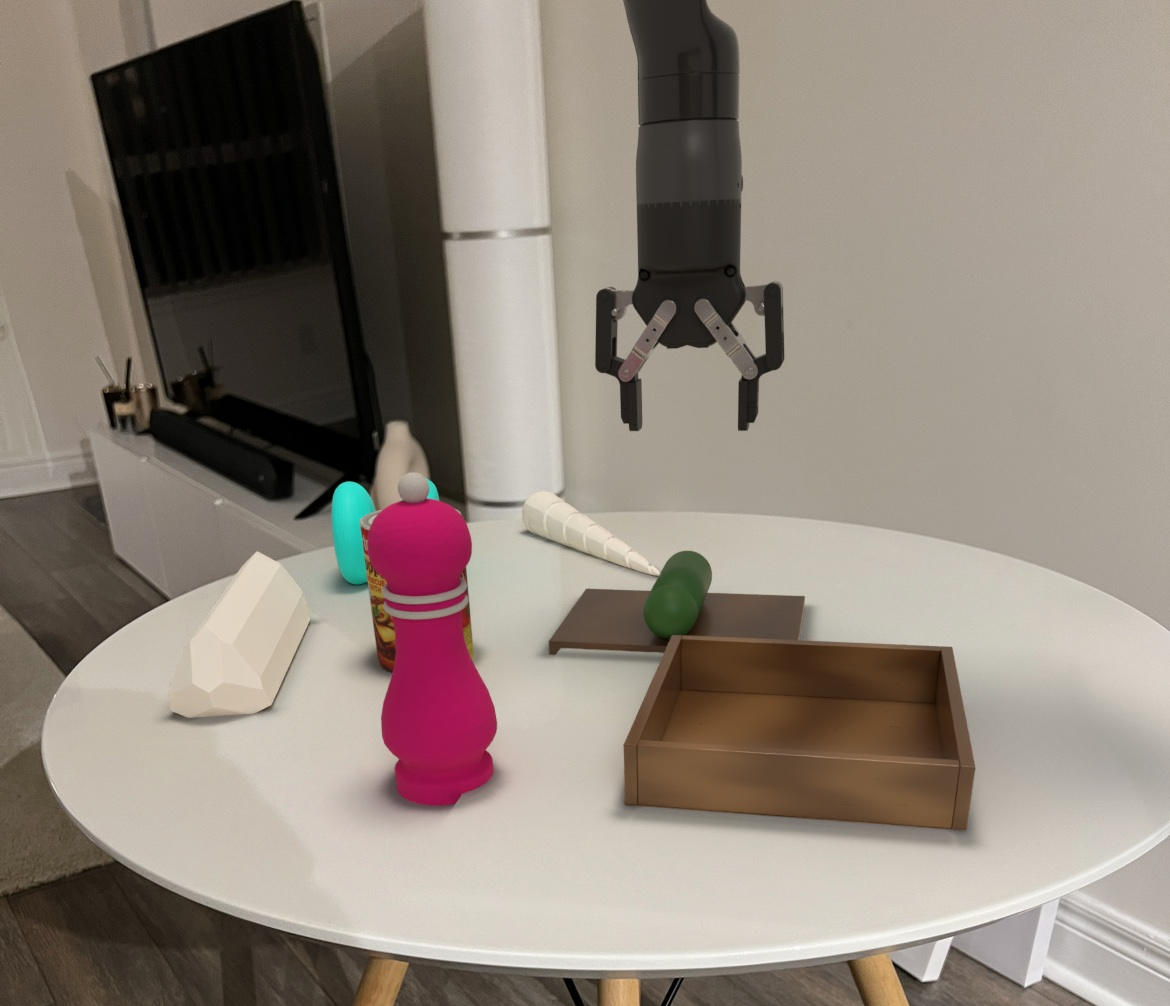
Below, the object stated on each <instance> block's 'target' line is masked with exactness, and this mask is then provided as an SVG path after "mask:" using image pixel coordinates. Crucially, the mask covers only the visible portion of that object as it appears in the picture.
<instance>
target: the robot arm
mask: <svg viewBox="0 0 1170 1006" xmlns="http://www.w3.org/2000/svg"><path fill="white" fill-rule="evenodd" d="M622 1H623V6H624V10H625V15H626V20H627V24H628V28H629V32H630V35H631V39H632V42H633V46H634V50H635V54H636V60H637V109H638V110H637V113H638V115H637V116H638V122H637V123H638V129H637V130H638V133H637V134H638V136H637V146H636V155H635V156H636V157H635V158H636V159H635V187H636V188H635V191H636V193H635V194H636V234H637V235H636V239H637V281H636V285H635V287H634V289H616V288H615V287H613V286H607V287H605V288H602V289H600V290H598V291H597V293H596V297H595V346H594V347H595V349H594V350H595V352H594V353H595V354H594V357H595V358H594V366H595V370H596V371H597V372H598V373H600V374H607V375H609V376H611V377H614V378H615V379H617V380H618V383H619V397H620V398H619V399H620V400H619V401H620V419H621V421H622V423H623V424H625V425H626V424H628V430H629V432H640V430H641V429H642V428H643V386H642V385H643V383H642V378H639V374H640V371H641V370H642V369H643V367H644V366H645V364H646V362H647V361H648V359H649V358H650V357H651V355H652V354H653V353H654V352H655V350H656V349H657V348H658V345H659V344H660V345H661V346H662V347H665V348H666V350H671V349H676V350H677V349H680V348H683V347H686V346H689V347H692V348H695V349H708V348H709V347H711V346H713V345H715V344H716V343H718V345H719V346H720V348H721V349H722V351H723V352H724V354H725V355H726V357H728V358H729V359H730V360H731V362H732V363H733V364H734V366H735V367H736V368H737V370H738V371H739V373H740V374H741V377H740V379H738V388H737V389H738V390H737V391H738V393H737V394H738V395H737V396H738V397H737V431H738V432H748V431H749V428H750V424H754V423H755V421H756V420H757V417H758V415H759V398H760V397H759V396H760V395H759V394H760V379H761V377H762V376H763V375H764V374H767V373H770V372H773V371H777V370H779V369H780V368H781V367H782V365H783V363H784V361H785V323H784V322H785V321H784V320H785V319H784V287H783V284H782V283H781V282H780V281H777V280H774V281H770V282H769V283H765V284H755V285H745V283H744V281H743V278H742V275H741V242H742V241H741V240H742V239H741V238H742V237H741V236H742V192H743V190H744V178H743V177H744V176H743V173H742V171H743V170H742V169H743V167H742V166H743V163H742V161H743V157H742V146H741V137H740V122H739V119H740V80H741V79H740V77H741V76H740V73H741V71H740V70H741V69H740V45H739V40H738V35H737V33H736V31H735V29H734V28H733V27H732V26H731V25H730V24H729V23H727V22H726V21H724V20H723V19H721V18H720V17H718V16H717V15H715V14H714V13H713V11H712V10H711V8H710V6H709V5H708V1H707V0H622ZM746 301H747V302H750V303H751V304H752V307H753V309H754V313H755V314H756V315H758V316H759V317H760V316H761V317H763V316H764V342H765V353H764V354H761V355H759V356H756V355H755V354H754V352H753V350H752V349H751V348H750V347H749V345H748V344H747V341H746V340H745V339H744V336H743V335H742V334H741V333H740V331H739V330H738V328H737V327H736V325H735V324H734V323H733V321H734V319H735V318H736V317H737V315H738V314H739V312H740V311H741V309H742V308H743V306H744V305H745V303H746ZM630 305H632V306H633V308H634V310H635V311H636V313H637V314H638V316H639V317H640V319H641V320H642V321H643V323H644V324H645V326H646V327H645V328H644V330H643V331H642V333H641V335H640V336H639V338H638V339H637V341H636V342H635V344H634V345H633V347H632V349H631V351H630V352H629V353H628V355H627V357H626V358H625V359H624V358H622V357H620V356H618V326H619V325H618V321H619V320H622V319H623V318H624V317H625V316H626V314H627V310H628V308H629V306H630Z"/></svg>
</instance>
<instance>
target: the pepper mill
mask: <svg viewBox="0 0 1170 1006" xmlns="http://www.w3.org/2000/svg"><path fill="white" fill-rule="evenodd" d="M426 479H427V478H426V477H425V476H424V475H423V474H421V473H420V472H415V471H410V472H407V473H405V474H403V475H402V476H401V477H400V478H399V481H398V483H397V492H398V495H399V497H400V499H403V500H402V501H401V500H399V501H396V502H394V503H391V504H389V505H387V506H386V507H385V508H383V510H382V509H381V510H382V511H381V512H380V513H379V514H378V515H377V516H376V517H375V518H374V520H373V522H372V524H371V526H370V529H369V533H368V540H367V548H368V556H369V560H370V563H371V565H372V566H373V568H374V569H375V570H376V572H377V573H378V574H379V575H380V576H381V577H382V578H383V579H384V580H385V581H386V582H387V583H386V584H385V585H384V586H383V588H382V595H383V596H384V597H385V599H384V600H385V602H384V610H385V611H386V612H387V613H388V614H390V615H392V619H393V624H394V629H395V641H396V655H395V664H394V669H393V672H392V673H391V676H390V680H389V684H388V686H387V689H386V692H385V696H384V699H383V702H382V710H381V714H380V727H381V728H380V729H381V738H382V740H383V743H384V746H385V747H386V748H387V750H388V751H389V752H390V753H391V754H392V756H395V757H396V758H397V759H398V760H397V761H396V763H395V765H394V776H395V783H396V790H397V793H398V795H400V797H402V798H403V799H405V800H407V801H409V802H411V803H415V804H418V805H422V806H423V805H424V806H432V807H433V806H436V807H437V806H439V807H441V806H450V805H451V806H452V805H456V804H457V803H458V801H459V800H460V798H461V797H462V796H463V794H465V793H468V792H471V791H474V790H476V789H479V788H480V787H482V786H484V785H485V784H487V783H488V782H489V781H490V779H491V778H492V777H493V774H494V761H493V756H492V755H491V753H490V752H489V751H488V748H489V746H490V745H491V744H492V742H493V741H494V739H495V737H496V734H497V731H498V719H497V713H496V708H495V705H494V701H493V698H492V696H491V694H490V691H489V689H488V686H487V685H486V683H485V682H484V680H483V678H482V676H481V674H480V673H479V671H478V669H477V667H476V665H475V663H474V661H473V659H471V657H470V654H469V652H468V649H467V646H466V643H465V638H464V632H463V626H462V609H464V608H465V606H466V605H467V604H468V597H467V595H466V591H465V590H466V588H467V583H466V581H465V580H464V579H463V578H461V577H460V576H461V573H462V572H463V570H464V569H465V567H466V568H467V566H468V564H469V563H470V561H471V557H472V555H473V553H472V552H473V542H472V536H471V533H470V529H469V527H468V523H467V522H466V520H465V518H464V517H463V516H461V515H462V513H461V512H460V513H461V514H460V513H459V512H457V511H456V510H457V509H456V508H454V506H452V505H450V504H449V503H446V502H443V501H441V500H439V501H438V500H434V499H428V498H427V496H428V494H429V484H428V481H427V480H426ZM455 509H456V510H455Z"/></svg>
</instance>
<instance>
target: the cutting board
mask: <svg viewBox="0 0 1170 1006" xmlns="http://www.w3.org/2000/svg"><path fill="white" fill-rule="evenodd" d="M650 591H651V590H639V589H613V588H611V589H609V588H585V589H584V591H583V592H582V594H581V595H580V597H579V598H578V599H577V600H576V602H575V603H574V605H573V606H572V608H571V610H570V611H568V613H567V614H566V616H565V617H564V619H563V621H562V622H561V623H560V625H559V626H558V627H557V629H556V630H555V632H554V633H553V635H552V636H551V637H550V639H549V640H548V652H549V653H548V654H549V655H551V656H556V655H558V653H559V651H560V650H561V649H575V650H576V649H577V650H596V651H619V652H641V653H663V654H664V652H665V650H666V647H667V645H668V643H669V641H670V639H666V638H662V637H660V636H657V635H656V634H654V633H653V632H652V631H651V630H650V629H649V627H648V626H647V624H646V622H645V619H644V615H643V609H644V604H645V601H646V599H647V597H648V595H649V593H650ZM805 602H806V596H805V595H788V594H787V595H786V594H758V593H757V594H756V593H755V594H754V593H731V592H729V593H728V592H727V593H726V592H707V595H706V597H705V600H704V602H703V605H702V607H701V610H700V612H699V615H698V617H697V620H696V622H695V624H694V626H693V627H692V629H691V630H690V631H689V632H688V633H687V634H685V635H687V636H710V637H734V638H757V639H781V640H801V635H802V628H803V620H804V614H805V606H806V605H805V604H806V603H805Z"/></svg>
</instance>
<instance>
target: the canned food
mask: <svg viewBox="0 0 1170 1006" xmlns="http://www.w3.org/2000/svg"><path fill="white" fill-rule="evenodd" d="M383 509H384V508H383ZM383 509H379V510H375V512H372V513H369V514H367V515H365V516H363V517H362V518H361V520H360V527H361V535H362V543H363V550H364V558H365V565H366V573H367V580H368V582H367V586H368V594H369V596H368V597H369V602H370V603H369V604H370V610H371V617H372V625H373V634H374V641H375V648H376V655H377V663H378V666H379V667H380V668H381V669H382V670H383V671H385V672H388V673H390V674H392V672H393V669H394V664H395V655H396V641H395V629H394V624H393V619H392V615H390V614H388V613H387V612H386V611H385V610H384V602H385V600H384V599H385V597H384V596H383V595H382V588H383V586H384V585H385V584H386V583H387V582H386V581H385V580H384V579H383V578H382V577H381V576H380V575H379V574H378V573H377V572H376V570H375V569H374V568H373V566H372V565H371V563H370V560H369V556H368V548H367V540H368V533H369V529H370V526H371V524H372V522H373V520H374V518H375V517H376V516H377V515H378V514H379V513H380V512H381V511H382V510H383ZM454 509H455V510H456V511H457V512H459V513H460V514H461V516H462V513H461V511H460V510H459V509H456V508H454ZM462 517H463V516H462ZM460 577H461V578H463V579H464V580H465V581H466V583H467V588H466V590H465V591H466V595H467V597H468V604H467V605H466V606H465V608H464V609H462V626H463V632H464V638H465V643H466V646H467V649H468V652H469V654H470V657H471V659H472V660H473V658H474V655H475V653H474V652H475V651H474V641H473V639H474V638H473V628H472V618H471V607H470V594H469V584H468V573H467V566H466V567H465V569H464V570H463V572H462V573H461V576H460Z"/></svg>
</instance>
